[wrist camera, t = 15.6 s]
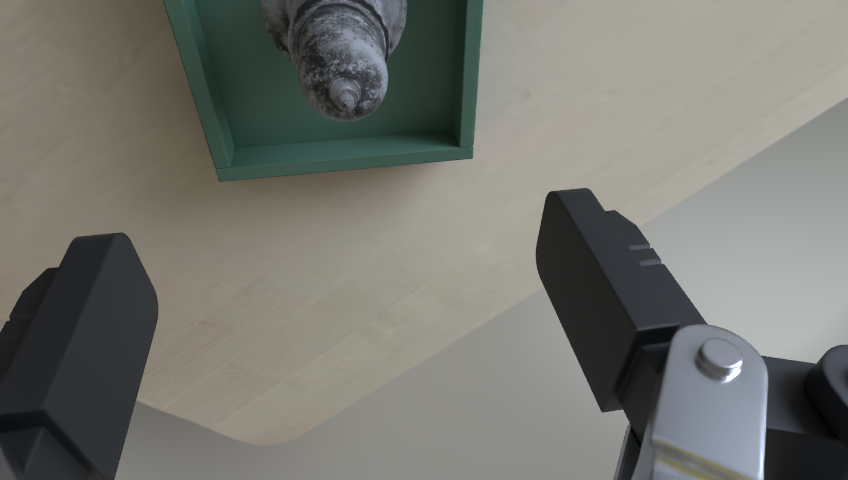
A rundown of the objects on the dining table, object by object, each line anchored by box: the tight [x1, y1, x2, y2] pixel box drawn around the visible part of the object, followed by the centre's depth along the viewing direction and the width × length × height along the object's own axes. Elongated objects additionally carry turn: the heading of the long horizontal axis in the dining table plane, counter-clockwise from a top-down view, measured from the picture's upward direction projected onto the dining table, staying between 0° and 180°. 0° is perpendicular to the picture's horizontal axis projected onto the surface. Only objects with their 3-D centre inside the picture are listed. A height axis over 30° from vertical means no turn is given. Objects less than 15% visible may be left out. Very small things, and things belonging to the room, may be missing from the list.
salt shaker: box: [261, 0, 407, 122], centre depth 20 cm, size 6×6×12 cm
